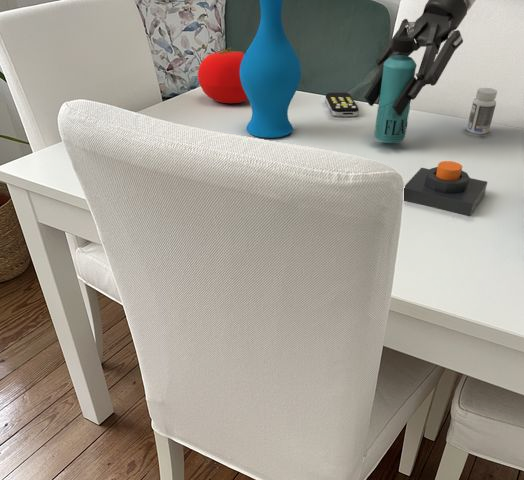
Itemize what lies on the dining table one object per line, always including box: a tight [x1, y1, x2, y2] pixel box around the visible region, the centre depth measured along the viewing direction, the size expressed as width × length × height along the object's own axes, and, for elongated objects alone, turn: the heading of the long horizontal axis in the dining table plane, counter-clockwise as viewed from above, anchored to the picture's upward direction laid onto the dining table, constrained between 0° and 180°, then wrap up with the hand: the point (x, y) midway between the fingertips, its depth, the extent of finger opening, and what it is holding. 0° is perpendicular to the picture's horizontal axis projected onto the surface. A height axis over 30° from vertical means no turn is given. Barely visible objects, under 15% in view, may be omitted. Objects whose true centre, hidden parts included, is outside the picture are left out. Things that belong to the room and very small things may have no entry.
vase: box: [240, 0, 302, 139], centre depth 115 cm, size 12×13×28 cm
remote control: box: [324, 92, 359, 118], centre depth 135 cm, size 6×13×2 cm, turn 4°
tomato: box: [197, 46, 248, 104], centre depth 136 cm, size 12×14×11 cm
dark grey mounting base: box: [403, 166, 488, 217], centre depth 99 cm, size 12×10×4 cm
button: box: [436, 160, 463, 181], centre depth 97 cm, size 4×4×2 cm
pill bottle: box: [466, 87, 498, 135], centre depth 122 cm, size 5×5×8 cm
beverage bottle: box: [374, 37, 417, 144], centre depth 112 cm, size 6×7×20 cm
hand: (382, 106), depth 111 cm, fingers closed on beverage bottle, 6 cm apart
